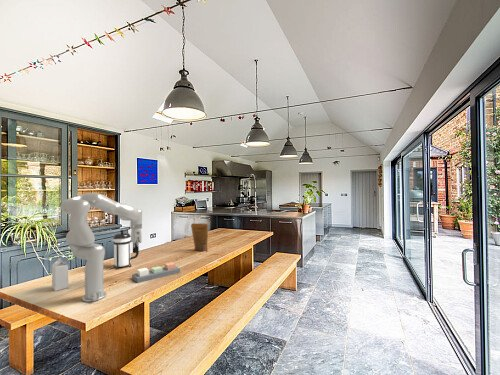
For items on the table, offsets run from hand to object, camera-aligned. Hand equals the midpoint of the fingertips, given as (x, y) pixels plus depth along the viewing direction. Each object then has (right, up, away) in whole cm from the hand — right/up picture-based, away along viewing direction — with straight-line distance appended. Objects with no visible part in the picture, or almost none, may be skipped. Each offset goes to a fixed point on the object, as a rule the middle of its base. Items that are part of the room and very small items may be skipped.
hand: (135, 252), depth 182 cm
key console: (+13, -19, +7) cm, 24 cm away
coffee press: (-22, -19, +29) cm, 42 cm away
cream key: (+5, -17, 0) cm, 18 cm away
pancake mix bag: (+31, -18, +77) cm, 85 cm away
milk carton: (-42, -19, -15) cm, 49 cm away
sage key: (+13, -18, +7) cm, 23 cm away
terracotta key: (+20, -17, +14) cm, 30 cm away
